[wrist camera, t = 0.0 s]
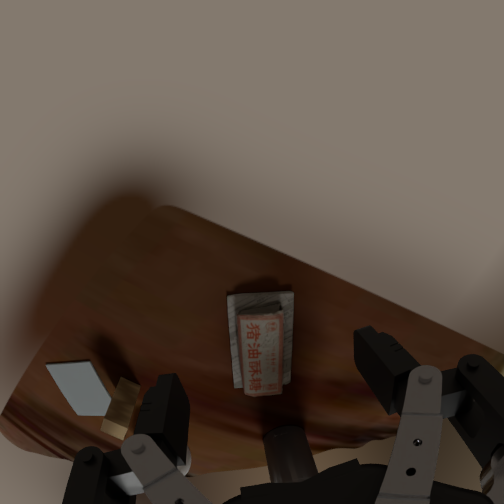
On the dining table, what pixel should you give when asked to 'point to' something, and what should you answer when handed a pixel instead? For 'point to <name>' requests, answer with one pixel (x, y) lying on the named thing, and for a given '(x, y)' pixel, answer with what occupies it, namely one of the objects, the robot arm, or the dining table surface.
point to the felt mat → (81, 387)
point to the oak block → (120, 408)
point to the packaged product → (261, 340)
